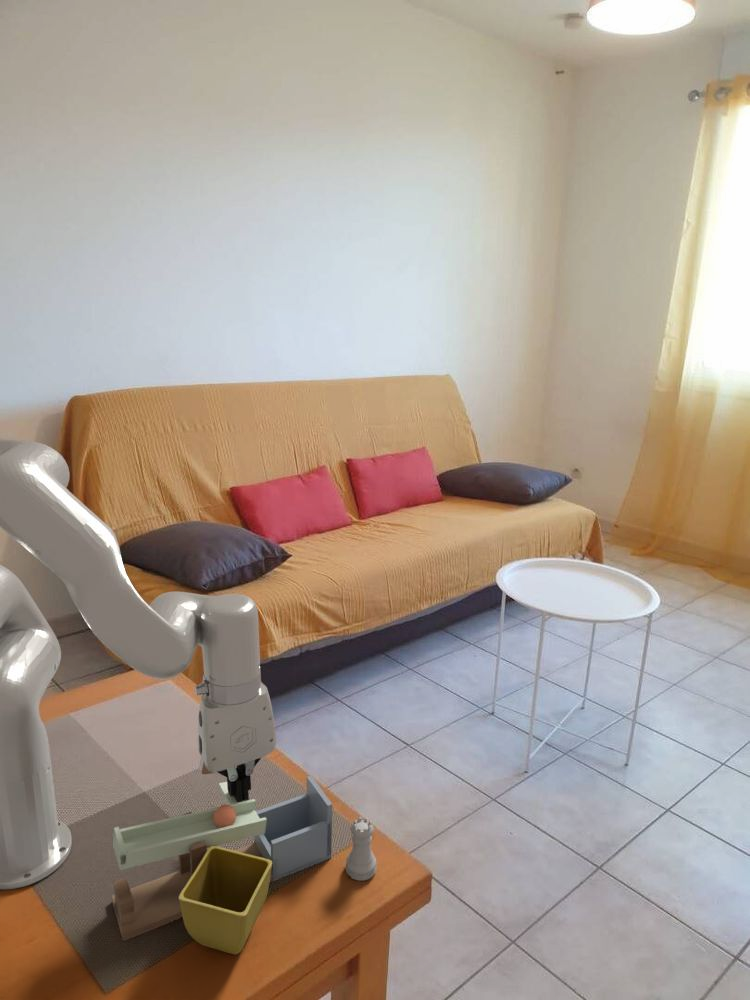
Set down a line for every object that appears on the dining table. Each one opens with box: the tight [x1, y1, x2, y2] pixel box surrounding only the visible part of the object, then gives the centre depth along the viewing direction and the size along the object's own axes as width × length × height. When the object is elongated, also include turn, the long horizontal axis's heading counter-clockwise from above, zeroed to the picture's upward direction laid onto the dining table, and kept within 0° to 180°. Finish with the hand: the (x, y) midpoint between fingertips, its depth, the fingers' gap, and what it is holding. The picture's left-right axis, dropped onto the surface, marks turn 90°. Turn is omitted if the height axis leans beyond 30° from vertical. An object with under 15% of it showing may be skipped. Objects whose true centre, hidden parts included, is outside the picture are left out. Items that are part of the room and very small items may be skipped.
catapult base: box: [111, 811, 274, 942], centre depth 96 cm, size 7×20×10 cm, turn 120°
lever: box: [112, 781, 267, 871], centre depth 97 cm, size 11×19×3 cm, turn 120°
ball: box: [213, 804, 236, 828], centre depth 96 cm, size 3×3×3 cm
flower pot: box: [178, 846, 272, 955], centre depth 89 cm, size 9×9×9 cm
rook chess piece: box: [345, 816, 378, 882], centre depth 100 cm, size 4×4×8 cm
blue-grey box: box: [253, 775, 333, 882], centre depth 103 cm, size 7×9×9 cm
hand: (239, 795), depth 103 cm, fingers closed
